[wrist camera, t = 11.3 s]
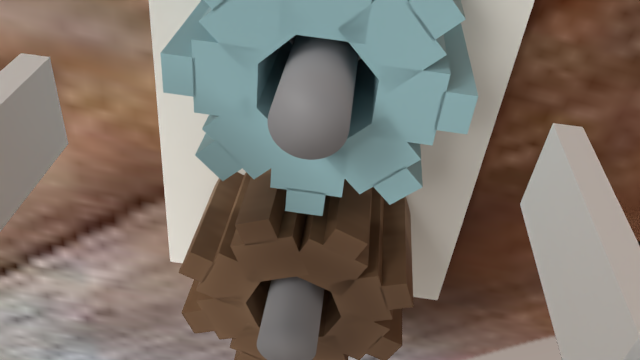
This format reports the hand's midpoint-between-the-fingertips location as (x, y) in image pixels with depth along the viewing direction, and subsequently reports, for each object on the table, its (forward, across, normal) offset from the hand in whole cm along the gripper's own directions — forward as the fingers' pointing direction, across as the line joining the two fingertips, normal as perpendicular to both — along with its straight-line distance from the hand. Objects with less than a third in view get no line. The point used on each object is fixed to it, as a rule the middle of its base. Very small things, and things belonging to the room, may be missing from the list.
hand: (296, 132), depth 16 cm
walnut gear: (+9, 0, -11) cm, 14 cm away
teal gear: (+9, 0, -1) cm, 9 cm away
